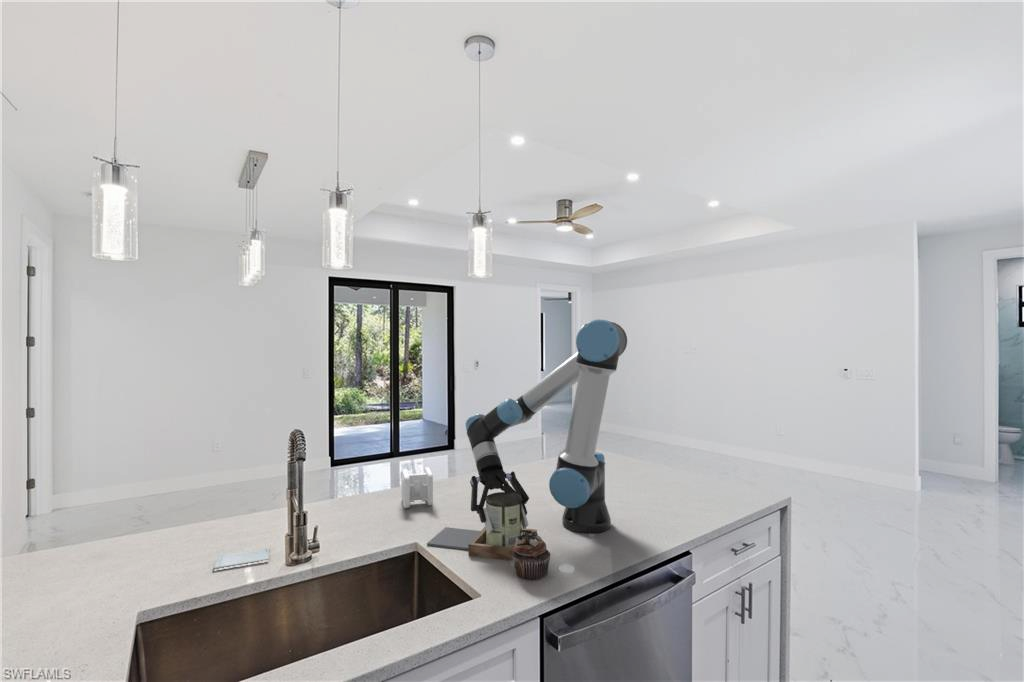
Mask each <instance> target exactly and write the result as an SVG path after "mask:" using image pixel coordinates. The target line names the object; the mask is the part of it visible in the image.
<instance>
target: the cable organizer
mask: <svg viewBox="0 0 1024 682" xmlns="http://www.w3.org/2000/svg"><path fill="white" fill-rule="evenodd" d="M400 478H401V499H402V506H403V508H404V509H409V508H410V506H411V503H415V501H422V503H423V502H426V504H427V506H429V507H430V506H432V505H433V504H434V477H433V472H432V471H431V468H430V467H429V466H425V467H424V470H423V473H411V474H410V473H409V470H408V469H407V468H405V469H403V468H402V469H401V471H400Z"/></svg>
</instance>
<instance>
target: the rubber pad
mask: <svg viewBox="0 0 1024 682" xmlns="http://www.w3.org/2000/svg"><path fill="white" fill-rule="evenodd" d="M480 532H481V530H476V529H475V530H474V529H467V528H466V529H465V528H456V527H450V526H449V527H447V526H445V527H444V528H443V529H442V530H441V531H440V532H438V533H437V534H436V535H435V536H434V537H432V538H431V539H430V540H429V541H427V542H426V546H429V547H430V546H431V547H436V548H437V547H438V548H445V549H454V550H461V549H462V550H463V551H468V544H469V543H470V542H471V541H472V540H473V539H474V538H475V537H476V536H477V535H478V534H479V533H480ZM462 550H461V551H462Z"/></svg>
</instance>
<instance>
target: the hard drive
mask: <svg viewBox="0 0 1024 682" xmlns="http://www.w3.org/2000/svg"><path fill="white" fill-rule="evenodd" d="M269 553H270V554H271V548H270V547H267V548H260V549H253V550H246V551H239V552H234V553H228V554H227V553H226V554H221V555H217V557H216V560H215V563H214V566H213V571H214V570H215V569H219V568H224V567H230V566H235V565H242V564H248V563H254V562H259V561H263V560H269V561H270V556H269Z"/></svg>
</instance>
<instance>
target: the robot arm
mask: <svg viewBox="0 0 1024 682" xmlns="http://www.w3.org/2000/svg"><path fill="white" fill-rule="evenodd" d="M575 346H576V349H577V352H575V353H574V354H572V355H571V356H570V357H569V358H567V359H566V360H565V361H564V362H562V364H561V363H560V365H559V366H557V367H556V368H555V369H554V370H552V371H551V372H550V373H548V374H547V375H545V377H543V378H541V380H540V381H538V382H537V383H536V384H535V385H533V386H532V387H531V388H529V389H528V390H527V391H525V392H524V393H523V394H522V395H521V396H519V397H518V398H517V399H513V398H506V399H505V400H504V401H501V402H500V403H499V404H498V405H497V406H495V407H494V408H492V410H490V411H489V412H488V413H487V414H486V415H484V414H483V413H477V414H474V415H471V416H470V417H469V418H467V420H466V421H465V429H466V435H467V437H468V441H469V444H470V447H471V451H472V455H473V459H474V462H475V467H476V470H477V474H478V476H475V475H472V476H471V478H470V481H469V483H470V485H471V486H470V487H471V495H470V496H471V497H470V498H471V499H470V510H471V512H476V514H477V515H478V516H479V520H480V522H481V523H484V527H486V531H487V535H490V534H491V532H492V531H493V529H492V525H491V522H490V518H489V515H488V511H487V508H486V507H484V506H485V505H486V496H488V495H489V490H490V491H493V490H501V492H512V493H517V494H519V495H521V496H522V528H523V529H527V527H528V526H529V522H528V518H527V514H528V510H527V507H526V504H527V503H528V501H529V499H530V497H529V495H528V494H527V492H526V491H525V489H524V488H523V486H522V485H521V483H520V481H519V480H518V478H517V476H516V473H515V471H511V472H510V473H509V472H508V473H506V472H505V471H504V467H503V463H502V461H501V458H500V454H499V451H498V449H497V445H496V441H495V438H497V437H498V436H500V435H501V434H502V433H503V432H505V431H506V430H509V428H512V427H515V426H518V425H520V424H525V423H527V422H528V421H530V420H531V419H532V418H533V417H534V415H536V414H537V413H538V412H539V411H540V410H542V409H543V408H544V407H546V406H547V405H549V404H550V403H551V402H552V401H554V400H555V399H556V398H557V397H560V395H562V394H563V393H564V392H566V391H567V390H568V389H570V388H571V387H573V386H574V385H575V384H576V383H577V384H576V390H575V396H574V401H573V405H572V409H571V410H572V411H571V414H570V415H571V416H570V421H569V427H568V431H567V432H568V433H567V437H566V438H567V439H566V442H565V449H564V450H562V451H560V452H559V453H558V457H557V462H556V468H555V471H553V473H552V475H551V476H550V478H549V483H548V486H549V487H548V488H549V492H550V494H551V496H552V498H553V499H554V500H555V502H556V503H557V504H559V505H561V506H563V507H564V510H563V513H562V526H563V527H564V528H566V529H568V530H569V531H573V532H576V533H580V534H581V533H582V534H583V533H584V534H596V533H603V532H606V531H608V530H609V529H610V528H611V527H612V525H611V524H612V523H611V522H612V521H611V520H612V519H611V516H610V513H609V509H608V507H607V503H606V499H605V498H606V481H605V480H606V479H605V478H606V475H605V474H606V472H605V471H606V469H605V467H606V461H605V459H606V458H605V455H604V454H603V453H601V452H597V451H596V448H597V443H598V440H599V439H598V437H599V434H600V429H601V422H602V417H603V413H604V407H605V401H606V398H607V397H606V396H607V391H608V386H609V382H610V381H609V380H610V376H611V375H613V374H614V373H615V372H616V371H617V368H618V363H619V357H620V356H622V355H623V354H624V353H625V351H626V348H627V346H628V336H627V333H626V331H625V330H624V328H623V327H622V326H621V325H620V324H618V323H616V322H613V321H609V320H605V319H594V320H590V321H588V322H586V323H584V324H583V325H582V326H581V327H580V329H579V330H578V332H577V334H576V337H575ZM479 482H480V483H481V484H482V485H483V486H484V487H483V490H482V493H481V496H480V501H479V504H478V490H479V489H478V486H479ZM509 483H510V484H509Z"/></svg>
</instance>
